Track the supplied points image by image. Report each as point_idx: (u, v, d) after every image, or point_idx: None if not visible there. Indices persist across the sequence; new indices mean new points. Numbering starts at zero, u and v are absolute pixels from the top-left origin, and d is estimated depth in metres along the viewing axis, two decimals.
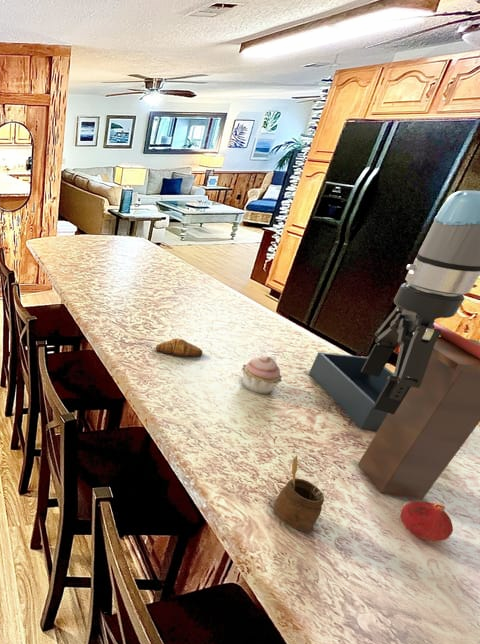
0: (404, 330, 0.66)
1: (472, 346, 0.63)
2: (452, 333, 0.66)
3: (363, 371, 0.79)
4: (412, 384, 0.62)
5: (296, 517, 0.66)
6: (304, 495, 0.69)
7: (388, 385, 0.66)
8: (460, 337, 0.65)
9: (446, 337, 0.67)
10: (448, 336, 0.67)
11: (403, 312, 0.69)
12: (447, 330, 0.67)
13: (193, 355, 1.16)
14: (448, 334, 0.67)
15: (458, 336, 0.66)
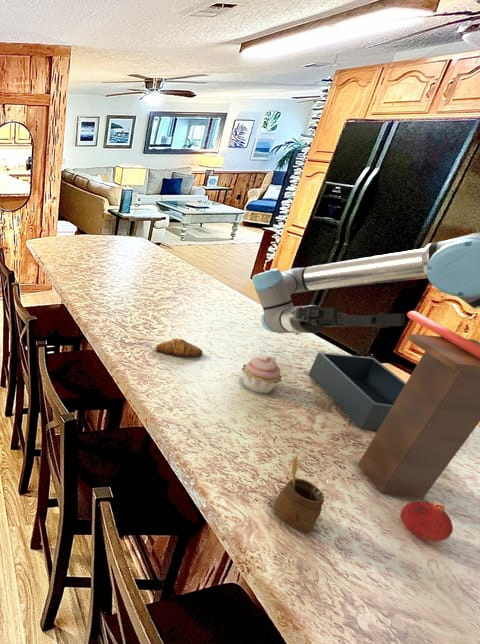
0: None
1: (472, 346, 0.63)
2: (452, 333, 0.66)
3: (399, 324, 0.85)
4: (296, 312, 0.95)
5: (296, 517, 0.66)
6: (304, 495, 0.69)
7: (316, 319, 0.92)
8: (460, 337, 0.65)
9: (446, 337, 0.67)
10: (448, 336, 0.67)
11: None
12: (447, 330, 0.67)
13: (193, 355, 1.16)
14: (448, 334, 0.67)
15: (458, 336, 0.66)
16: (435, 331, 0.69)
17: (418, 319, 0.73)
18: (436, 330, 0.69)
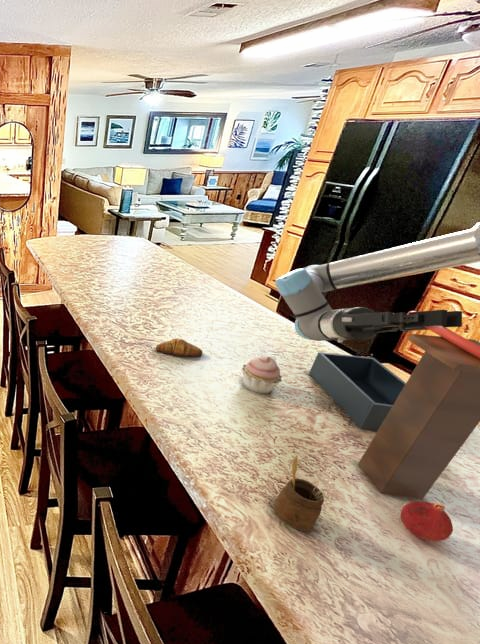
0: (367, 328, 0.83)
1: (472, 346, 0.63)
2: (452, 333, 0.66)
3: (454, 325, 0.67)
4: (386, 316, 0.75)
5: (296, 517, 0.66)
6: (304, 495, 0.69)
7: (414, 325, 0.72)
8: (460, 337, 0.65)
9: (446, 337, 0.67)
10: (448, 336, 0.67)
11: None
12: (447, 330, 0.67)
13: (193, 355, 1.16)
14: (448, 334, 0.67)
15: (458, 336, 0.66)
16: (435, 331, 0.69)
17: None
18: (436, 330, 0.69)
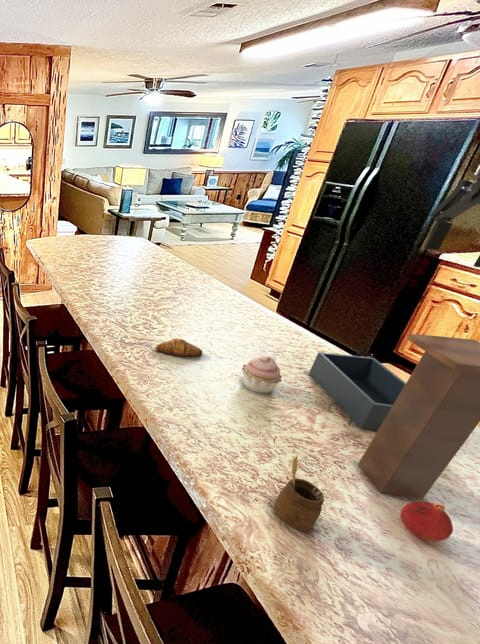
0: None
1: None
2: None
3: (427, 247, 0.95)
4: None
5: (296, 517, 0.66)
6: (304, 495, 0.69)
7: None
8: None
9: None
10: None
11: (475, 187, 0.85)
12: None
13: (193, 355, 1.16)
14: None
15: None
16: None
17: None
18: None
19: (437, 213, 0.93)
